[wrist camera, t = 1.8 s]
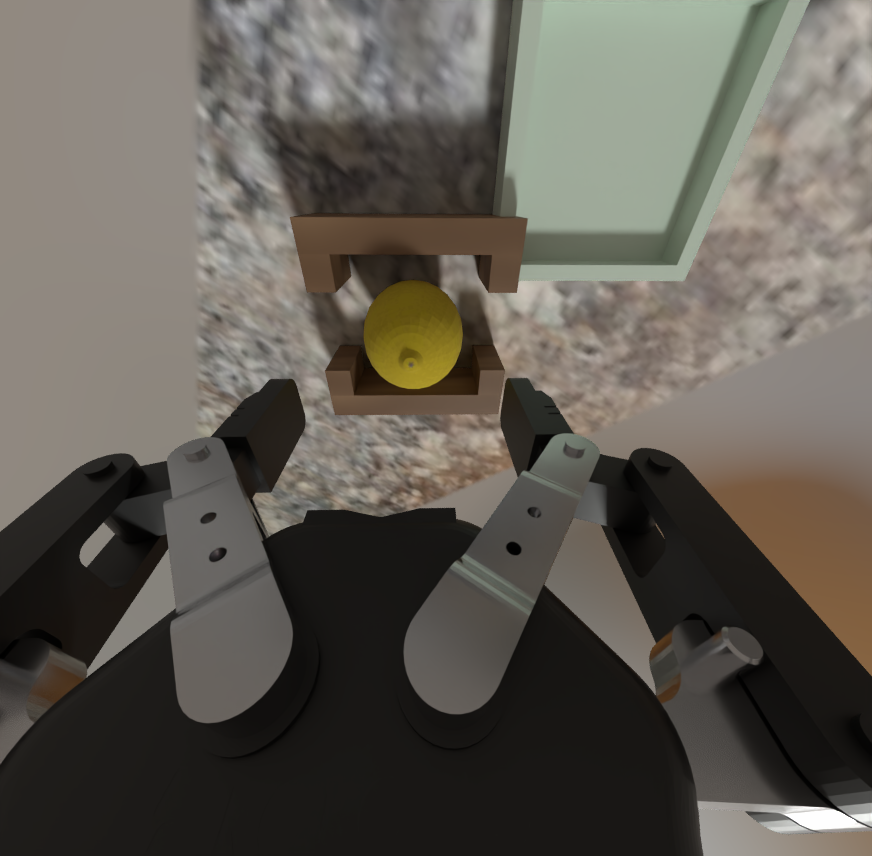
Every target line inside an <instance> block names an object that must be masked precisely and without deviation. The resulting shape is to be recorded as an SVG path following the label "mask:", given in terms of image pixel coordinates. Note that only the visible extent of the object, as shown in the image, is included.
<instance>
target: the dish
mask: <svg viewBox="0 0 872 856" xmlns="http://www.w3.org/2000/svg"><path fill="white" fill-rule="evenodd" d="M809 1H810V0H513V4H512V14H511V25H510V35H509V46H508V56H507V67H506V78H505V88H504V99H503V109H502V120H501V130H500V141H499V151H498V162H497V172H496V183H495V193H494V204H493V215H496V216H500V217H516V216H519V217H523V218H528V222H527V229H526V235H525V242H524V248H523V255H522V261H521V268H520V274H519V281H684V280H685V278H686V276H687V274H688V271H689V269H690V267H691V265H692V263H693V260H694V258H695V256H696V254H697V251H698V249H699V247H700V245H701V242H702V240H703V238H704V236H705V233H706V231H707V229H708V227H709V225H710V222H711V220H712V218H713V216H714V213H715V211H716V209H717V207H718V204H719V202H720V200H721V198H722V195H723V193H724V191H725V189H726V187H727V184H728V182H729V180H730V178H731V175H732V173H733V171H734V169H735V166H736V164H737V162H738V160H739V157H740V155H741V153H742V151H743V149H744V146H745V144H746V142H747V140H748V137H749V135H750V133H751V131H752V128H753V126H754V124H755V122H756V120H757V117H758V115H759V113H760V111H761V108H762V106H763V104H764V102H765V99H766V97H767V95H768V93H769V90H770V88H771V86H772V84H773V82H774V79H775V77H776V75H777V73H778V70H779V68H780V66H781V64H782V61H783V59H784V57H785V55H786V52H787V50H788V48H789V46H790V44H791V41H792V39H793V37H794V35H795V32H796V30H797V28H798V26H799V23H800V21H801V19H802V17H803V15H804V12H805V10H806V8H807V6H808V3H809Z"/></svg>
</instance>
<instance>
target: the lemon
mask: <svg viewBox="0 0 872 856" xmlns="http://www.w3.org/2000/svg"><path fill="white" fill-rule="evenodd" d="M462 338H463V331H462V323H461V318H460V316H459V313H458V311H457V308H456V306H455V304H454V303H453V302H452V300H451V299H450V298H449V296H448V295H447V294H446V293H445V292H443V291H442V290H441V289H440V288H438V287H437V286H435V285H433V284H430V283H428V282H426V281H419V280H406V281H400V282H398V283H395V284H393V285H391V286H389V287H387V288H386V289H385V290H384V291H382V292H381V293H380V294H379V295H378V296H377V297H376V299H375V300H374V302H373V303H372V304H371V306H370V307H369V310H368V313H367V316H366V319H365V323H364V343H365V348H366V353H367V356H368V358H369V360H370V362H371V364H372V366H373V367H374V368H375V370H376V371H377V372H378V373H379V375H380V376H382V377H383V378H384V379H385V380H387V381H388V382H390V383H392V384H394V385H396V386H398V387H402V388H407V389H420V388H425V387H429V386H431V385H433V384H435V383H437V382H439V381H440V380H441V379H442V378H444V377H445V376H446V375H447V374H448V373H449V372H450V370H451V369H452V368H453V366H454V365H455V363H456V361H457V358H458V356H459V353H460V351H461V345H462Z"/></svg>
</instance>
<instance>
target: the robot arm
mask: <svg viewBox="0 0 872 856" xmlns="http://www.w3.org/2000/svg"><path fill="white" fill-rule="evenodd" d="M500 421H501V428H502V431H503V434H504V437H505V440H506V443H507V446H508V449H509V452H510V455H511V458H512V461H513V464H514V467H515V470H516V473H517V476H518V478H517V480H516V481H515V483H514V484H513V486H512V487H511V489H510V490H509V491H508V493H507V494H506V496H505V497H504V498H503V500H502V502H501V503H500V504H499V506H498V507H497V508H496V510H495V511H494V513H493V514H492V515H491V517H490V518H489V520H488V521H487V523H486V524H485V525H484V527H483V528H480V527H478V526H476V525H474V524H472V523H469V522H466V521H462V520H458V519H456V512H455V508H419V509H415V510H411V511H406V512H402V513H398V514H393V515H389V516H384V517H376V516H372V515H367V514H362V513H357V512H353V511H348V510H308V511H307V513H306V516H305V519H304V521H303V523H299V524H296V525H293V526H290V527H287V528H285V529H283V530H280V531H278V532H277V533H275V534H273V535H271V536H270V537H269V535H268V533H267V530H266V528H265V525H264V523H263V521H262V518H261V516H260V514H259V511H258V509H257V507H256V504H255V502H254V500H253V496H254V495H255V493H262V492H272V490H273V488H274V486H275V484H276V482H277V480H278V478H279V476H280V474H281V473H282V471H283V469H284V467H285V465H286V463H287V461H288V459H289V457H290V455H291V454H292V452H293V450H294V448H295V446H296V444H297V442H298V440H299V438H300V436H301V435H302V433H303V431H304V428H305V413H304V410H303V406H302V403H301V399H300V396H299V393H298V389H297V386H296V383H295V381H294V380H293V379H270V380H269V381H268V382H267V383H266V384H265V385H264V387H263V388H262V389H261V390H260V391H259V392H256V393H254V394H253V395H251V396H249V397H248V398H246V399H244V401H243V402H242V403H241V404H240V405H239V406H238V407H237V410H234V412H233V413H232V414H231V417H228V418H227V419H226V420H225V422H224V423H223V424H222V425H221V426H220V427H219V428H218V429H217V430H216V432H215V433H214V434H213V435H212V436H211V437H205V438H199V439H195V440H192V441H190V442H187V443H185V444H183V445H181V446H179V447H178V448H176V449H175V450H174V451H173V452H172V453H171V454H170V455H169V456H168V458H167V461H164V462H160V463H155V464H150V465H144V466H140V465H139V464H138V463H137V461H136V460H135V459H134V458H133V456H131V455H129V454H113V455H107V456H104V457H101V458H98V459H95V460H92V461H90V462H88V463H86V464H84V465H82V466H81V467H79V468H77V469H76V470H75V471H73V472H72V473H71V474H70V475H68V476H67V477H66V478H65V479H64V480H62V481H61V482H60V483H59V484H58V485H56V486H55V487H54V488H53V489H52V490H50V491H49V492H48V493H47V494H45V495H44V496H43V497H42V498H41V499H39V500H38V501H37V502H36V503H35V504H34V505H32V506H31V507H30V508H29V509H28V510H26V511H25V512H24V513H23V514H21V515H20V516H19V517H18V518H17V519H15V520H14V521H13V522H12V523H11V524H9V525H8V526H7V527H6V528H4V529H3V530H2V531H1V532H0V856H703V850H702V844H701V837H700V824H699V812H698V809H714V810H733V811H734V810H735V811H745V812H746V813H747V814H748V815H750V816H751V817H752V818H753V819H755V820H756V821H757V822H758V823H760V824H761V825H763V826H765V827H766V828H768V829H770V830H772V831H775V832H778V833H782V834H808V833H832V832H858V831H872V676H871V675H870V674H869V673H868V672H867V671H866V669H865V668H864V667H863V666H862V665H861V664H860V663H859V661H858V660H857V659H856V658H855V657H854V656H853V655H852V654H851V653H850V651H849V650H848V649H847V648H846V647H845V646H844V645H843V643H842V642H841V641H840V640H839V639H838V638H837V637H836V636H835V634H834V633H833V632H832V631H831V630H830V629H829V628H828V627H827V626H826V624H825V623H824V622H823V621H822V620H821V619H820V618H819V616H818V615H817V614H816V613H815V612H814V611H813V610H812V609H811V607H810V606H809V605H808V604H807V603H806V602H805V601H804V600H803V599H802V597H801V596H800V595H799V594H798V593H797V592H796V590H795V589H794V588H793V587H792V586H791V585H790V584H789V583H788V581H787V580H786V579H785V578H784V577H783V576H782V575H781V574H780V573H779V571H778V570H777V569H776V568H775V567H774V566H773V565H772V563H771V562H770V561H769V560H768V559H767V558H766V557H765V556H764V554H763V553H762V552H761V551H760V550H759V549H758V548H757V547H756V545H755V544H754V543H753V542H752V541H751V540H750V539H749V538H748V536H747V535H746V534H745V533H744V532H743V531H742V530H741V529H740V527H739V526H738V525H737V524H736V523H735V522H734V521H733V520H732V518H731V517H730V516H729V515H728V514H727V513H726V512H725V511H724V509H723V508H722V507H721V506H720V505H719V504H718V503H717V501H716V500H715V499H714V498H713V497H712V496H711V495H710V494H709V493H708V491H707V490H706V489H705V488H704V487H703V486H702V485H701V483H699V481H698V480H697V479H696V478H695V477H694V476H693V474H692V473H691V472H690V471H689V470H688V469H687V468H686V467H685V465H684V464H683V463H681V462H680V461H679V460H678V459H676V458H675V457H673V456H671V455H669V454H667V453H665V452H662V451H660V450H656V449H651V448H640V449H637V450H634V451H633V452H632V454H631V455H630V457H629V460H625V459H620V458H615V457H611V456H606V455H602V454H600V451H599V449H598V447H597V446H596V445H595V444H594V443H593V442H592V441H590V440H589V439H587V438H585V437H582V436H579V435H576V434H574V433H573V432H572V430H571V428H570V427H569V425H568V424H567V422H566V421H565V419H564V417H563V416H562V414H560V411H559V409H558V408H556V405H555V403H554V402H553V400H552V398H551V397H549V396H548V395H546V394H545V393H544V392H542V391H535V390H534V388H533V386H532V384H531V383H530V381H529V379H528V378H508V379H507V380H506V383H505V389H504V396H503V402H502V408H501V417H500ZM573 518H577V519H580V520H585V521H588V522H593V523H597V524H600V525H601V526H602V528H603V530H604V532H605V535H606V537H607V539H608V541H609V543H610V545H611V548H612V549H613V552H614V554H615V556H616V558H617V561H618V563H619V564H620V567H621V569H622V571H623V573H624V575H625V578H626V580H627V582H628V584H629V586H630V588H631V590H632V593H633V595H634V597H635V599H636V601H637V603H638V605H639V607H640V610H641V612H642V614H643V616H644V618H645V620H646V623H647V624H648V627H649V629H650V631H651V633H652V635H653V637H654V640H655V642H656V644H655V645H654V646H653V647H652V649H651V651H650V656H649V664H650V670H651V673H652V676H653V679H654V683H655V689H656V695H655V694H654V693H653V691H652V690H651V689H650V688H649V686H648V685H647V684H646V683H645V682H644V681H643V680H642V679H641V678H640V676H639V675H638V674H637V673H636V672H635V671H634V670H633V669H632V668H631V667H629V666H628V665H627V664H626V663H625V662H624V661H623V660H622V659H621V658H620V657H619V656H618V655H617V654H616V653H615V652H614V651H613V650H612V649H611V648H610V647H609V646H608V645H607V644H605V643H604V642H603V641H602V640H601V639H600V638H599V637H598V636H597V635H596V634H595V633H594V632H593V631H592V630H591V629H590V628H589V627H588V626H587V625H586V624H585V623H584V622H583V621H581V620H580V619H579V618H578V617H577V616H576V615H575V614H574V613H573V612H572V611H571V610H570V609H569V608H568V607H567V606H566V605H565V604H564V603H563V602H562V601H561V600H560V599H558V598H557V597H556V596H555V595H554V594H553V593H552V592H551V591H550V590H549V589H548V588H547V587H546V586H545V585H544V584H545V582H546V579H547V577H548V575H549V572H550V570H551V568H552V566H553V563H554V561H555V559H556V556H557V554H558V552H559V549H560V547H561V545H562V542H563V540H564V538H565V536H566V533H567V531H568V529H569V526H570V524H571V522H572V520H573ZM103 522H104V523H105V524H106V525H107V526H108V527H109V528H110V529H111V530H112V531H113V532H114V533H115V535H114V536H113V537H112V539H111V540H110V541H109V542H108V543H107V544H106V546H105V547H104V548H103V549H102V550H101V551H100V553H99V554H98V555H97V556H96V557H95V558H94V560H93V561H92V562H91V563H90V564H89V565H88V567H87V568H86V567H85V566H84V565H83V564H82V563H81V562H80V558H79V555H80V550H81V548H82V546H83V544H84V543H85V541H86V540H87V539H88V538H89V537H90V536H91V535H92V534H93V533H94V532H95V531H96V530H97V529H98V527H99V526H100V525H101V524H102V523H103ZM655 524H657V525H658V527H659V528H660V530H661V532H662V533H663V535H664V538H665V539H664V538H663V536H662V535H661V533H660V532H659V530H658V529H657V527H656V525H655ZM168 548H169V555H170V564H171V572H172V579H173V588H174V596H175V604H176V609H174V610H173V611H172V612H170V613H169V614H168V615H167V616H165V617H164V618H163V619H161V620H160V621H159V622H158V623H156V624H155V625H154V626H152V627H151V628H150V629H149V630H147V631H146V632H145V633H144V634H142V635H141V636H140V637H138V638H137V639H136V640H134V641H133V642H132V643H131V644H129V645H128V646H127V647H126V648H124V649H123V650H122V651H120V652H119V653H118V654H116V655H115V656H114V657H113V658H111V659H110V660H109V661H107V662H106V663H105V664H104V665H102V666H101V667H100V668H99V669H97V670H96V671H95V672H93V673H92V674H91V675H90V676H88V677H87V678H86V676H87V669H88V668H89V666H90V665H91V663H92V662H93V660H94V659H95V657H96V656H97V654H98V653H99V651H100V650H101V648H102V647H103V645H104V644H105V642H106V641H107V639H108V638H109V636H110V635H111V633H112V632H113V630H114V629H115V627H116V626H117V624H118V623H119V621H120V620H121V618H122V617H123V615H124V614H125V612H126V611H127V609H128V608H129V606H130V605H131V603H132V602H133V600H134V599H135V597H136V596H137V594H138V593H139V591H140V590H141V588H142V587H143V585H144V584H145V582H146V581H147V579H148V578H149V576H150V575H151V573H152V572H153V570H154V569H155V567H156V566H157V564H158V563H159V561H160V560H161V558H162V557H163V555H164V554H165V552H166V551H167V550H168Z"/></svg>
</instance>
